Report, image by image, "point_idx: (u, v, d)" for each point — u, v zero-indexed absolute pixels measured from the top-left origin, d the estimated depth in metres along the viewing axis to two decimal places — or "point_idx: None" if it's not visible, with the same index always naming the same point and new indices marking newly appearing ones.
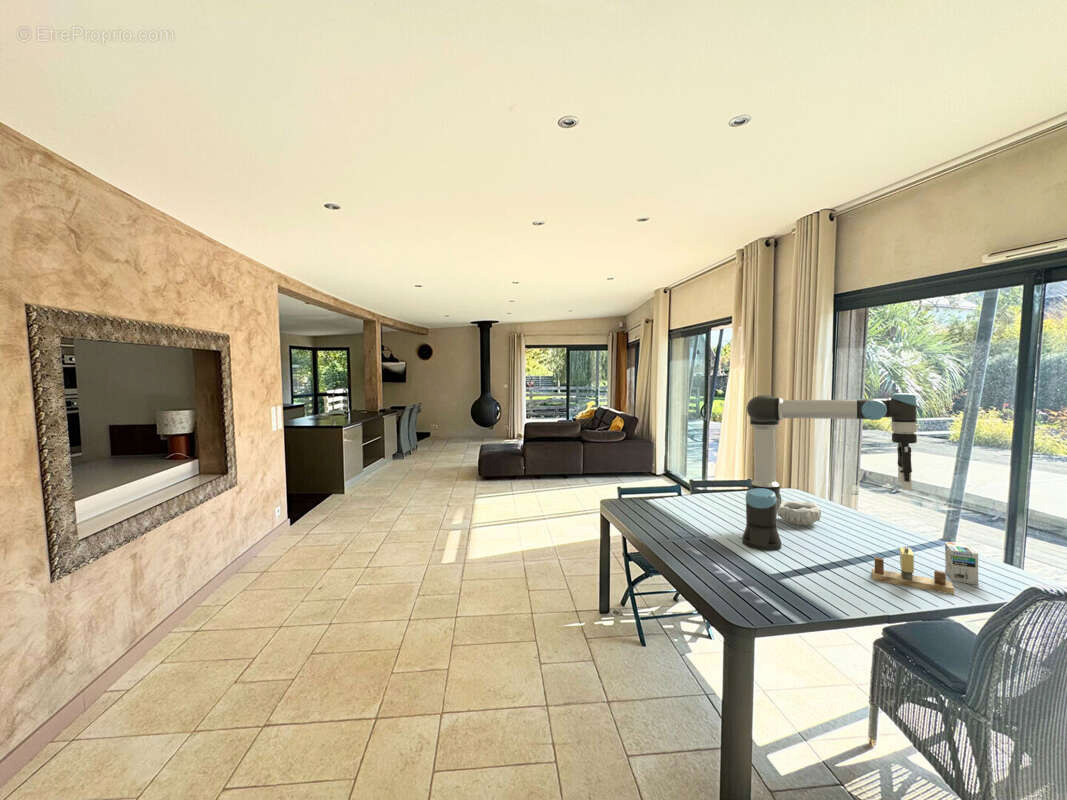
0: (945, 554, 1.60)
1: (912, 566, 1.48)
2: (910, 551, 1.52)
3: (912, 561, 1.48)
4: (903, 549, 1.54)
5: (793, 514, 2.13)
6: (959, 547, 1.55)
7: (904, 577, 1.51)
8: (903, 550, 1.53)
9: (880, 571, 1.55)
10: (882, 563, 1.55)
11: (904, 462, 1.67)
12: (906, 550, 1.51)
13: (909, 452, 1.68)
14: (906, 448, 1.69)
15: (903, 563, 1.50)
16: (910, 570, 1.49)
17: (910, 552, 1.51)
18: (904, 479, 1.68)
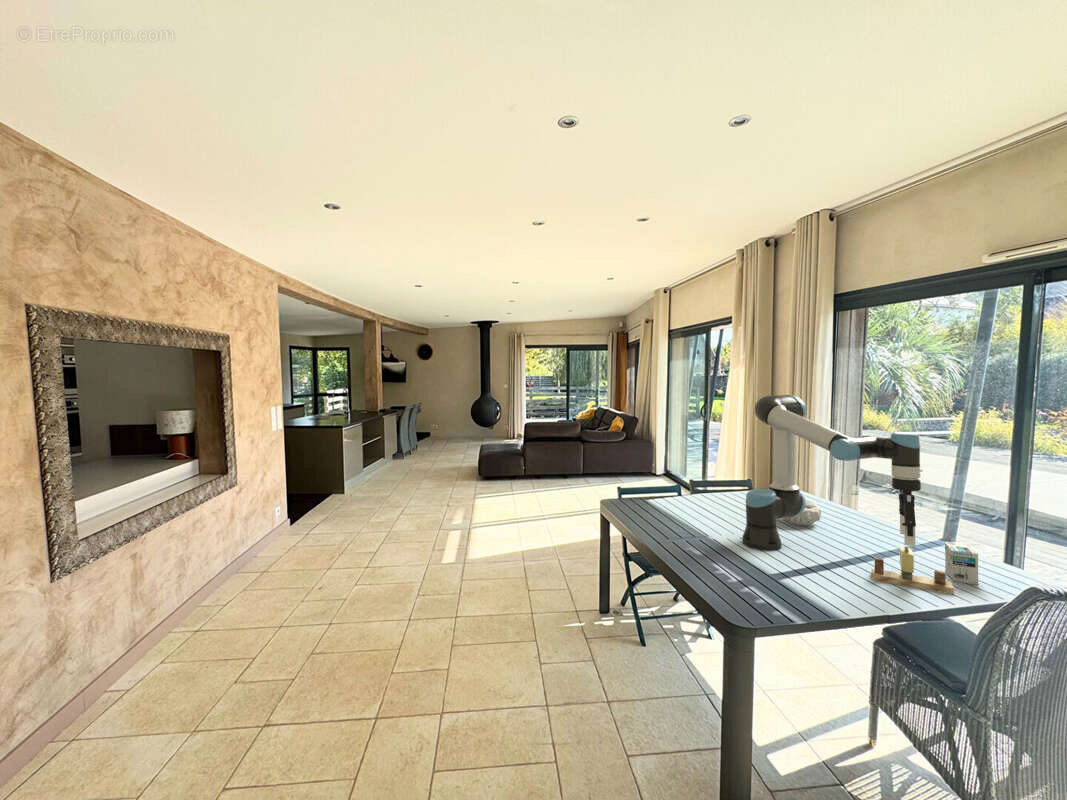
0: (945, 554, 1.60)
1: (912, 566, 1.48)
2: (910, 551, 1.52)
3: (912, 561, 1.48)
4: (903, 549, 1.54)
5: None
6: (959, 547, 1.55)
7: (904, 577, 1.51)
8: (903, 550, 1.53)
9: (880, 571, 1.55)
10: (882, 563, 1.55)
11: (907, 514, 1.45)
12: (906, 550, 1.51)
13: (912, 502, 1.45)
14: (909, 497, 1.46)
15: (903, 563, 1.50)
16: (910, 570, 1.49)
17: (910, 552, 1.51)
18: (907, 533, 1.46)
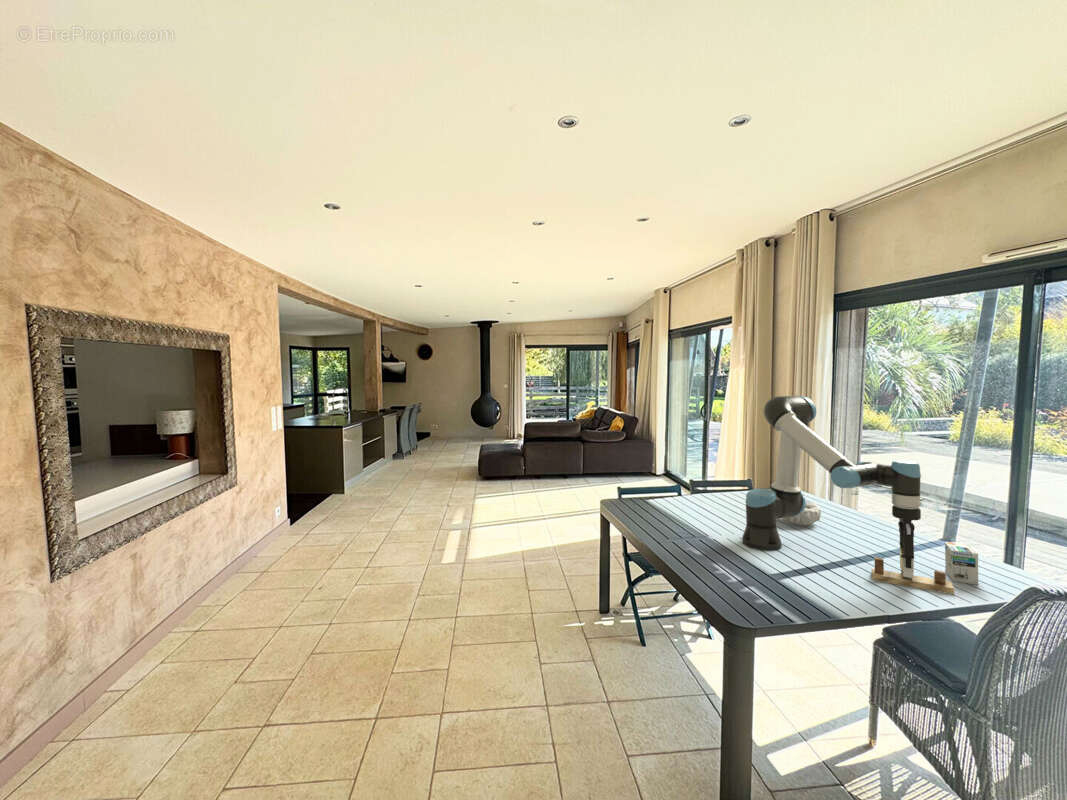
0: (945, 554, 1.60)
1: None
2: None
3: None
4: None
5: None
6: (959, 547, 1.55)
7: (904, 577, 1.51)
8: None
9: (880, 571, 1.55)
10: (882, 563, 1.55)
11: (906, 547, 1.47)
12: None
13: (912, 535, 1.46)
14: (909, 530, 1.46)
15: None
16: None
17: None
18: (905, 565, 1.48)
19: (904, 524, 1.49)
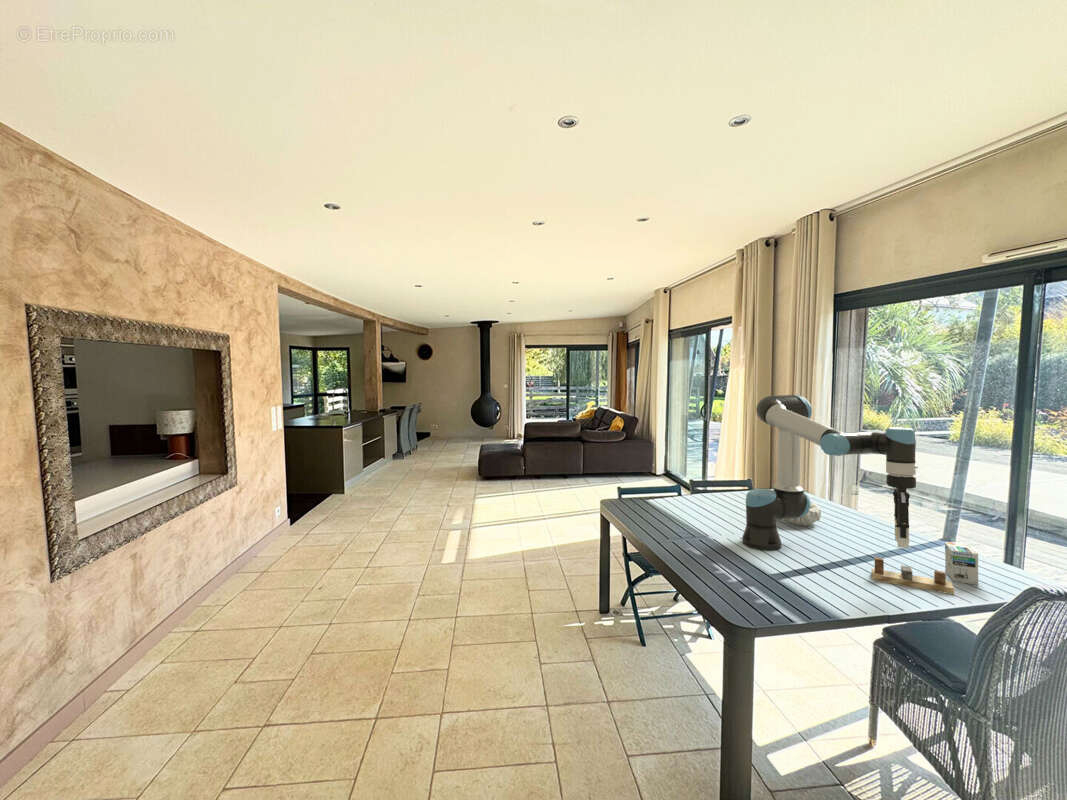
0: (945, 554, 1.60)
1: None
2: None
3: None
4: None
5: None
6: (959, 547, 1.55)
7: (904, 577, 1.51)
8: None
9: (880, 571, 1.55)
10: (882, 563, 1.55)
11: (900, 516, 1.41)
12: None
13: (907, 503, 1.40)
14: (903, 499, 1.41)
15: None
16: None
17: None
18: (900, 535, 1.43)
19: (899, 492, 1.43)
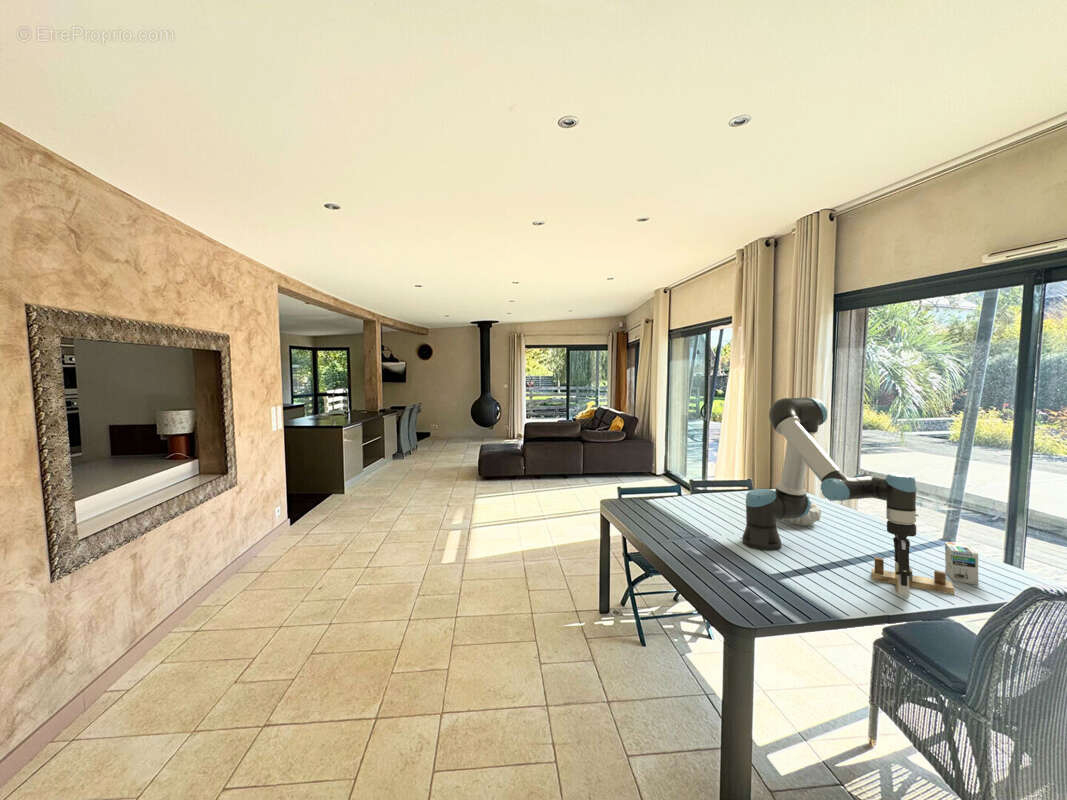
0: (945, 554, 1.60)
1: None
2: None
3: None
4: (898, 570, 1.48)
5: None
6: (959, 547, 1.55)
7: None
8: None
9: (880, 571, 1.55)
10: (882, 563, 1.55)
11: (901, 563, 1.40)
12: None
13: (907, 550, 1.40)
14: (904, 545, 1.40)
15: None
16: None
17: None
18: (901, 582, 1.41)
19: (899, 540, 1.43)
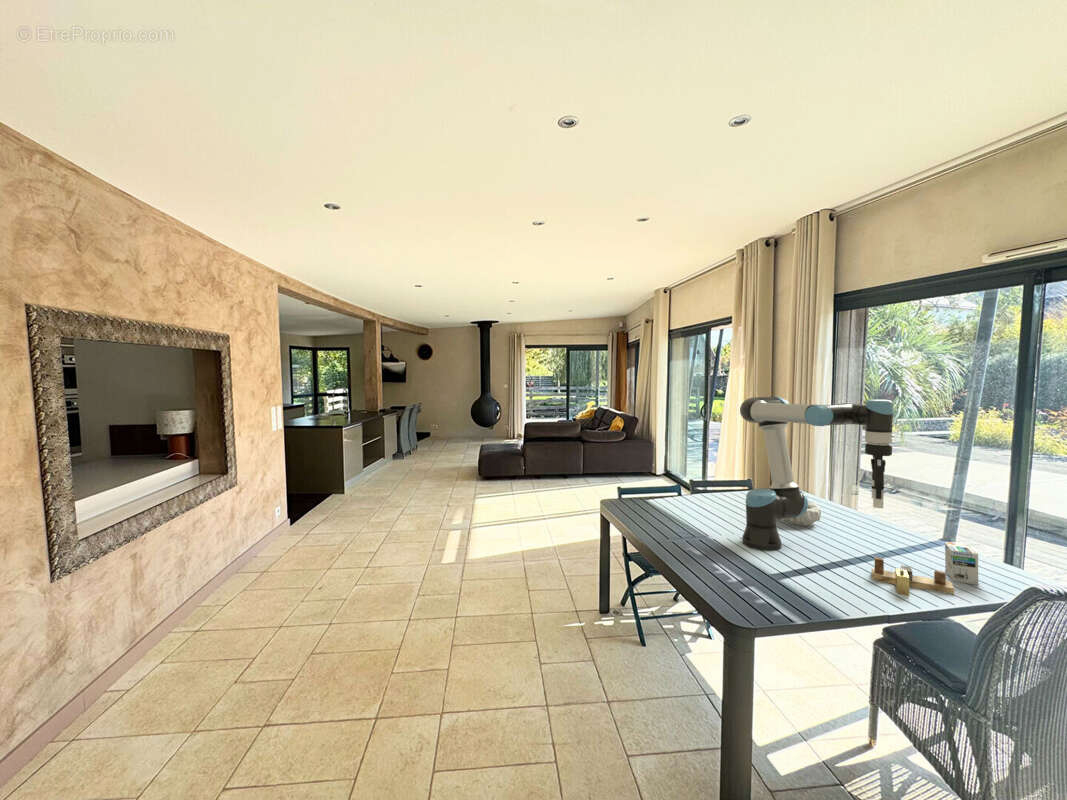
0: (945, 554, 1.60)
1: (908, 589, 1.43)
2: (906, 573, 1.46)
3: (908, 584, 1.43)
4: (898, 570, 1.48)
5: None
6: (959, 547, 1.55)
7: None
8: (898, 572, 1.47)
9: (880, 571, 1.55)
10: (882, 563, 1.55)
11: (876, 477, 1.50)
12: (901, 572, 1.46)
13: (882, 466, 1.50)
14: (879, 461, 1.50)
15: (898, 585, 1.44)
16: (905, 593, 1.43)
17: (906, 574, 1.45)
18: (876, 496, 1.51)
19: (875, 459, 1.53)
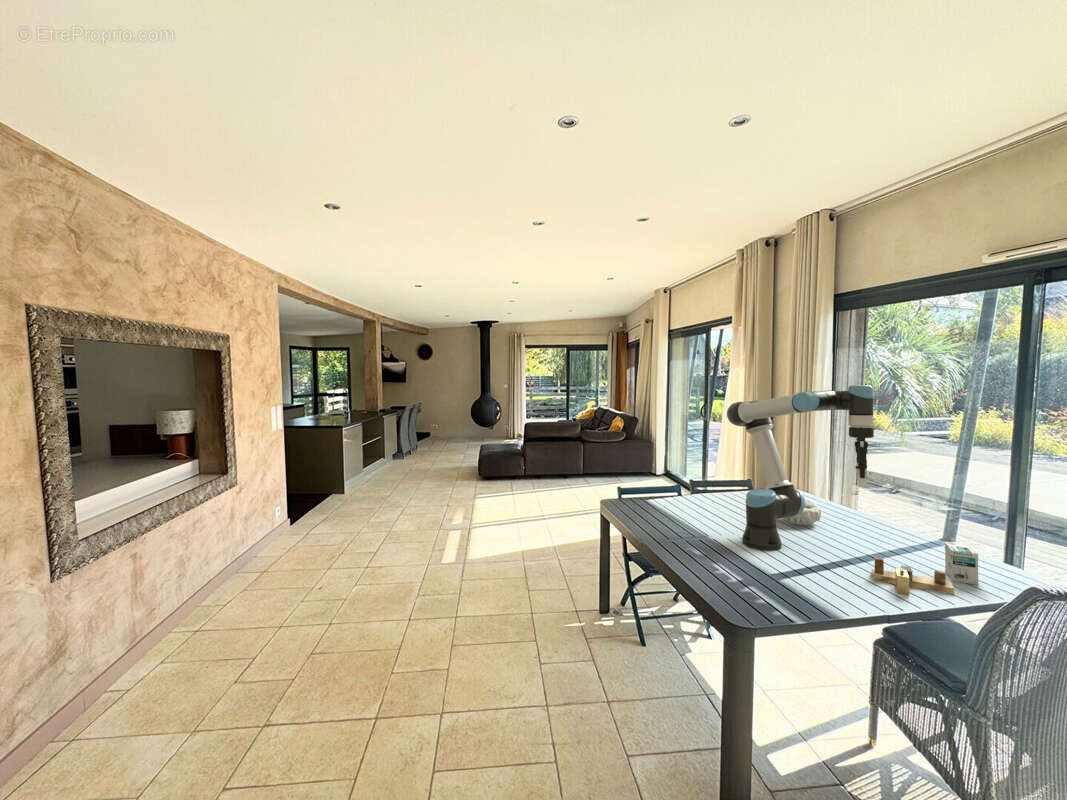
0: (945, 554, 1.60)
1: (908, 589, 1.43)
2: (906, 573, 1.46)
3: (908, 584, 1.43)
4: (898, 570, 1.48)
5: None
6: (959, 547, 1.55)
7: None
8: (898, 572, 1.47)
9: (880, 571, 1.55)
10: (882, 563, 1.55)
11: (859, 457, 1.58)
12: (901, 572, 1.46)
13: (865, 447, 1.58)
14: (862, 442, 1.59)
15: (898, 585, 1.44)
16: (905, 593, 1.43)
17: (906, 574, 1.45)
18: (859, 475, 1.59)
19: (858, 441, 1.62)
